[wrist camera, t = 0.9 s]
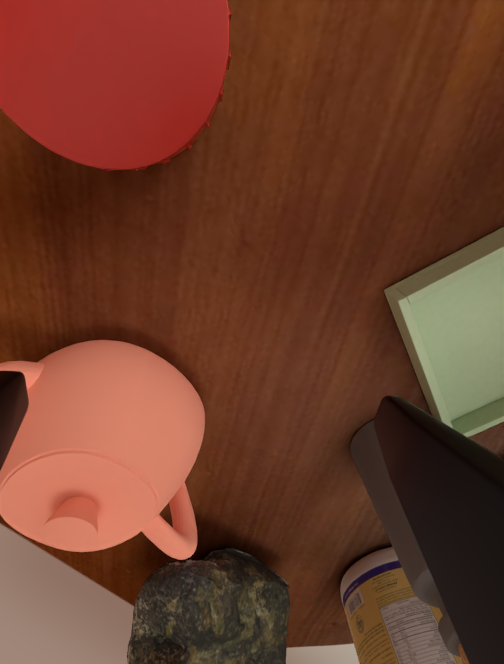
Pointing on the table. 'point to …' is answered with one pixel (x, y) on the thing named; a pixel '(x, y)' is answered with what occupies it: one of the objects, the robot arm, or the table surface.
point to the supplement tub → (390, 615)
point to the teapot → (103, 450)
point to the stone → (211, 613)
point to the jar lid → (113, 75)
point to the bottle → (399, 529)
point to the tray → (457, 333)
